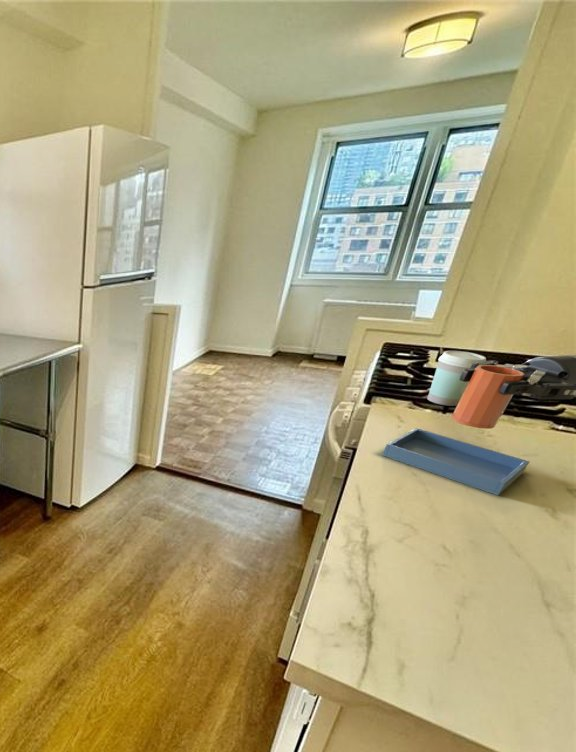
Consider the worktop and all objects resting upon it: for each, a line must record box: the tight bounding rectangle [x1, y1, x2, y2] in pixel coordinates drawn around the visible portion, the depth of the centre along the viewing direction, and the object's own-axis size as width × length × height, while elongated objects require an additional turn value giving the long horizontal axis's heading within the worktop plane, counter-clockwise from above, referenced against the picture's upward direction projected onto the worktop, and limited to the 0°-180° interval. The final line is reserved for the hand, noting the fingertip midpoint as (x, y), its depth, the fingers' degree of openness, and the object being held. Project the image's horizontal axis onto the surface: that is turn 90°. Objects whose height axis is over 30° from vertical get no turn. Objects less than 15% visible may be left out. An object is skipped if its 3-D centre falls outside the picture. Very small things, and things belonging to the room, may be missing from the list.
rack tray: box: [381, 427, 530, 496], centre depth 92 cm, size 17×14×2 cm
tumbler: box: [451, 365, 524, 430], centre depth 87 cm, size 6×6×10 cm
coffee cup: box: [426, 350, 487, 407], centre depth 118 cm, size 8×9×12 cm
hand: (483, 381), depth 85 cm, fingers closed on tumbler, 6 cm apart
